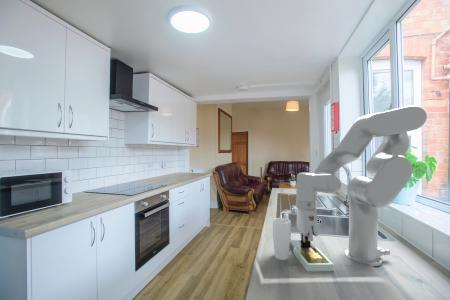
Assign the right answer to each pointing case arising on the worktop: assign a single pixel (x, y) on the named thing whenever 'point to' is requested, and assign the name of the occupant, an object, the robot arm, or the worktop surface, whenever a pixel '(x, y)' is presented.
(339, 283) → the worktop surface
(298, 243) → the slot board
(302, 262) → the tray
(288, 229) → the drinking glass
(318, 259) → the tan cube
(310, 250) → the gold cube
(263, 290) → the worktop surface
